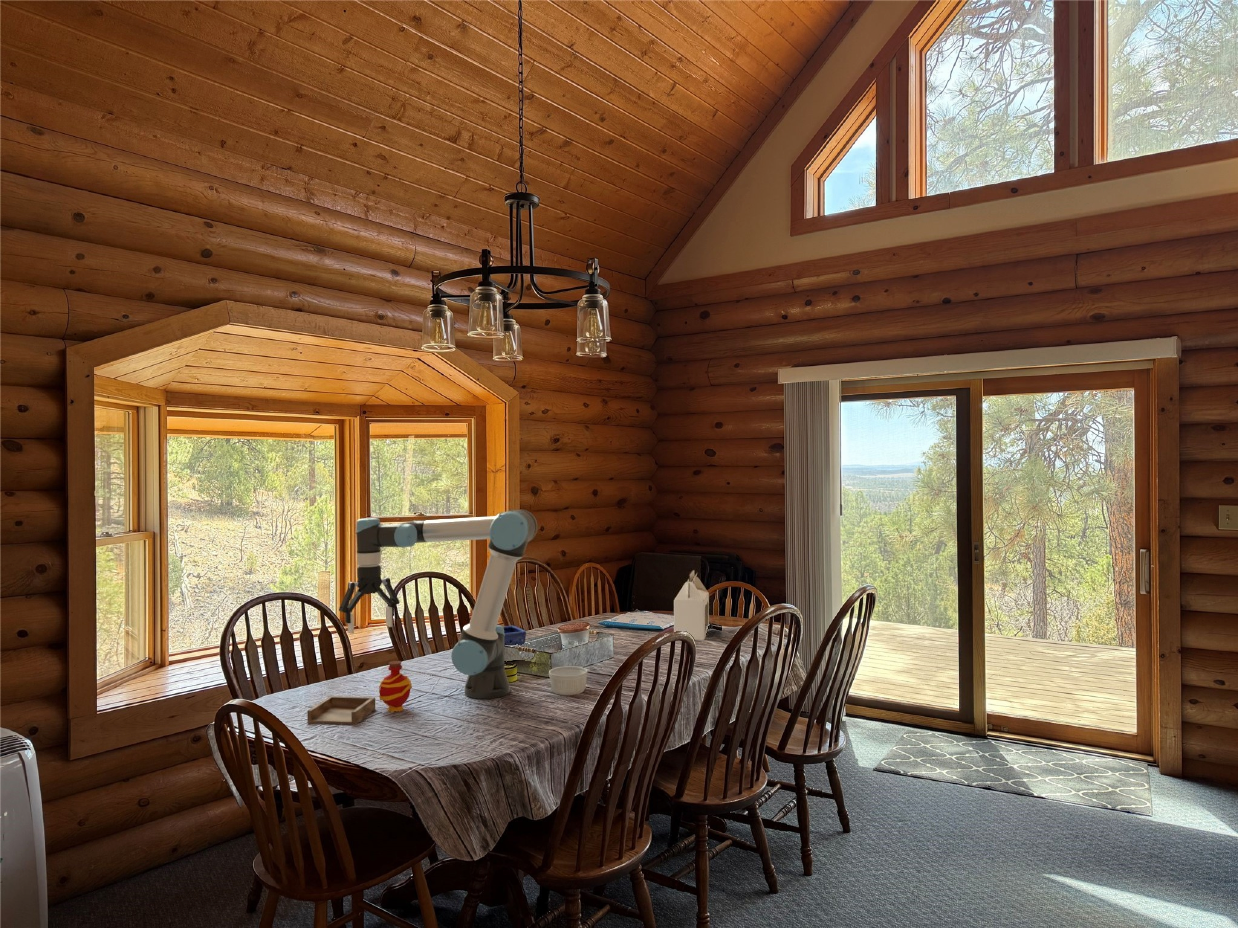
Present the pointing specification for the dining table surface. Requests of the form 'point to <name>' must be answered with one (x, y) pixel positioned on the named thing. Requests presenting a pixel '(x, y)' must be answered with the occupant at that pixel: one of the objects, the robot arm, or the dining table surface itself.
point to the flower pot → (514, 635)
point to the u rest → (341, 710)
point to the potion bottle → (395, 688)
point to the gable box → (692, 608)
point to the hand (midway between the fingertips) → (370, 629)
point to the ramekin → (568, 680)
